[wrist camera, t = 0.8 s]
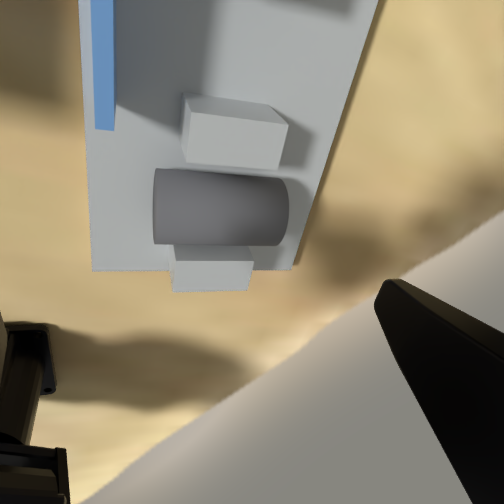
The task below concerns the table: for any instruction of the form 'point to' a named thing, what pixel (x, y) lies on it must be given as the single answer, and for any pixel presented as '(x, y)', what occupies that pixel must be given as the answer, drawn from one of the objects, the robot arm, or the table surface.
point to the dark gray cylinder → (218, 209)
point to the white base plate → (209, 116)
